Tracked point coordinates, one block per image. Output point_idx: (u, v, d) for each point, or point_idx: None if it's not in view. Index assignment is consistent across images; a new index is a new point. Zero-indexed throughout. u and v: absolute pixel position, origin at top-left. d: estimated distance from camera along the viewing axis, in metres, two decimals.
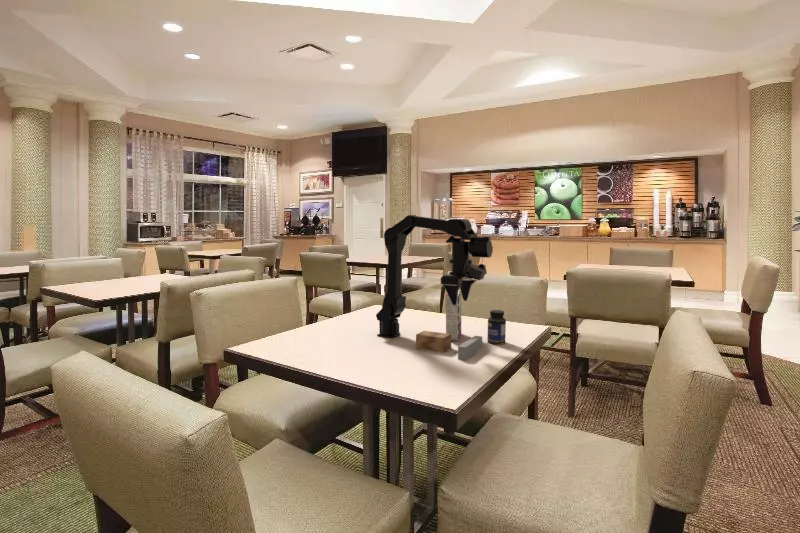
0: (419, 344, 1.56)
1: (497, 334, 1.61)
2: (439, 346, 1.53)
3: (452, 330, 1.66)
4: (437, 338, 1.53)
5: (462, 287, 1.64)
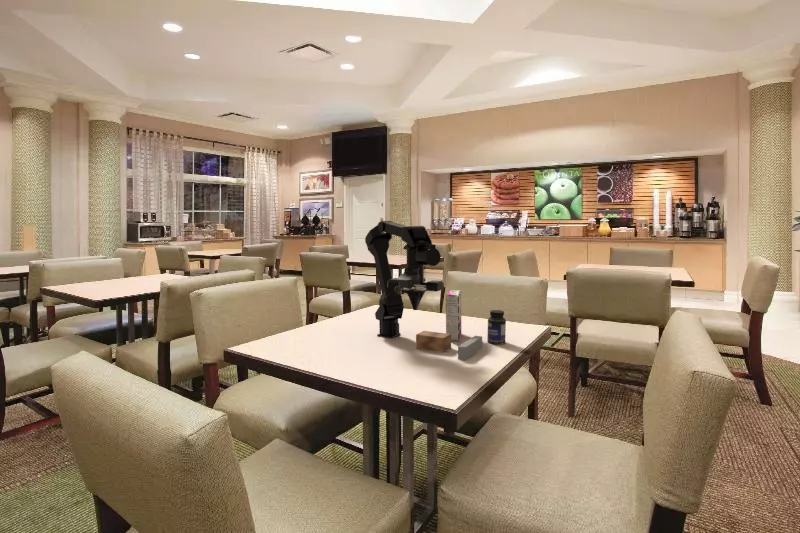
0: (419, 344, 1.56)
1: (497, 334, 1.61)
2: (439, 346, 1.53)
3: (452, 330, 1.66)
4: (437, 338, 1.53)
5: None
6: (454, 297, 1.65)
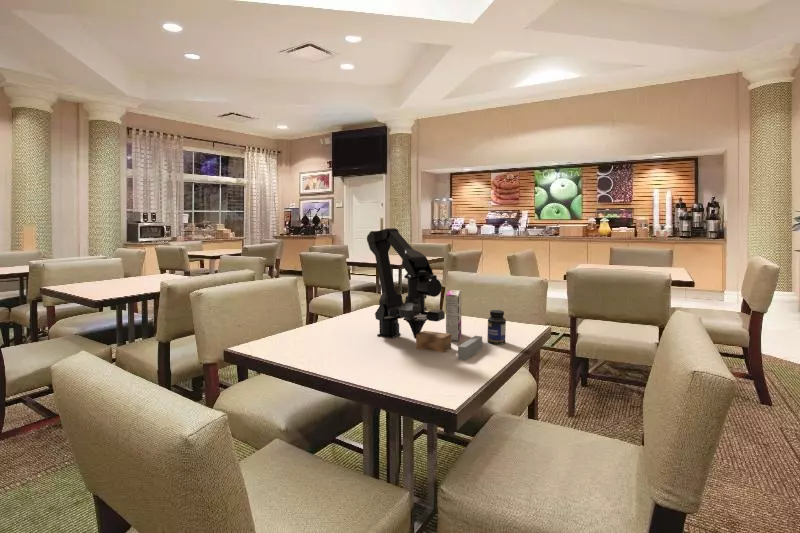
0: (419, 344, 1.56)
1: (497, 333, 1.61)
2: (439, 346, 1.53)
3: (452, 330, 1.66)
4: (437, 338, 1.53)
5: None
6: (454, 297, 1.65)
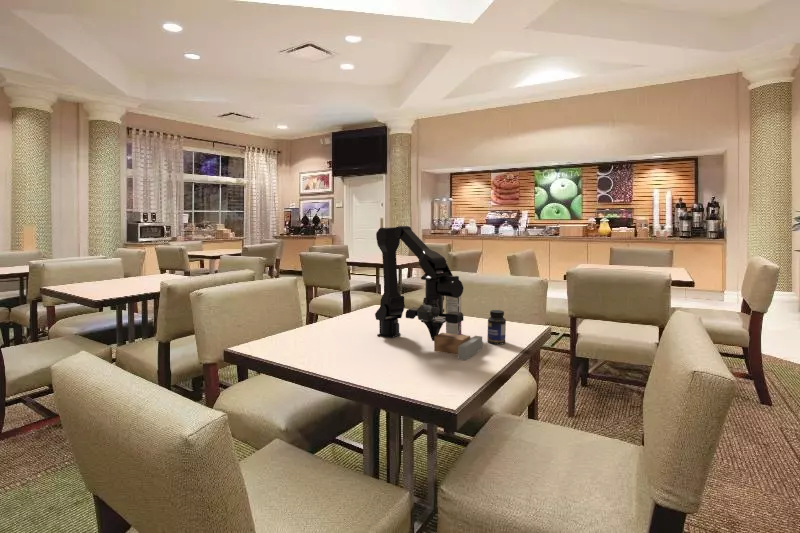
0: (437, 346, 1.53)
1: (497, 334, 1.61)
2: None
3: (452, 330, 1.66)
4: (456, 340, 1.50)
5: None
6: None
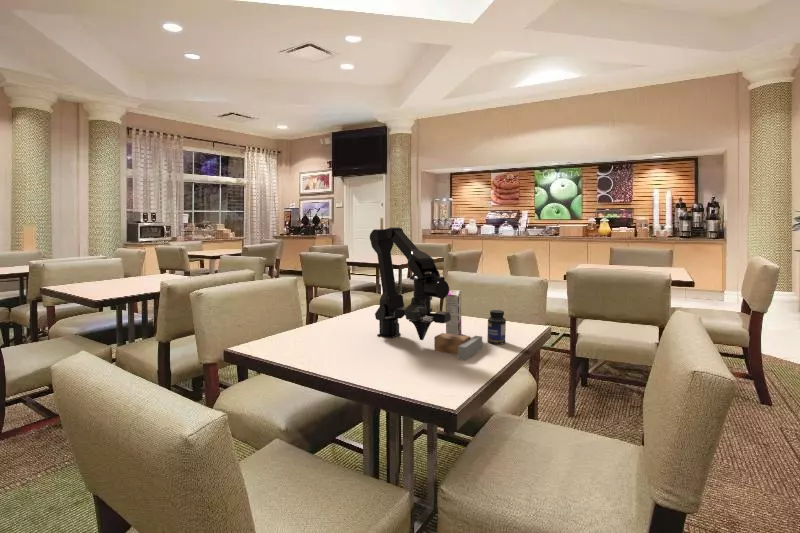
0: (438, 347, 1.53)
1: (497, 334, 1.61)
2: None
3: (452, 330, 1.66)
4: (456, 341, 1.50)
5: None
6: (454, 297, 1.65)
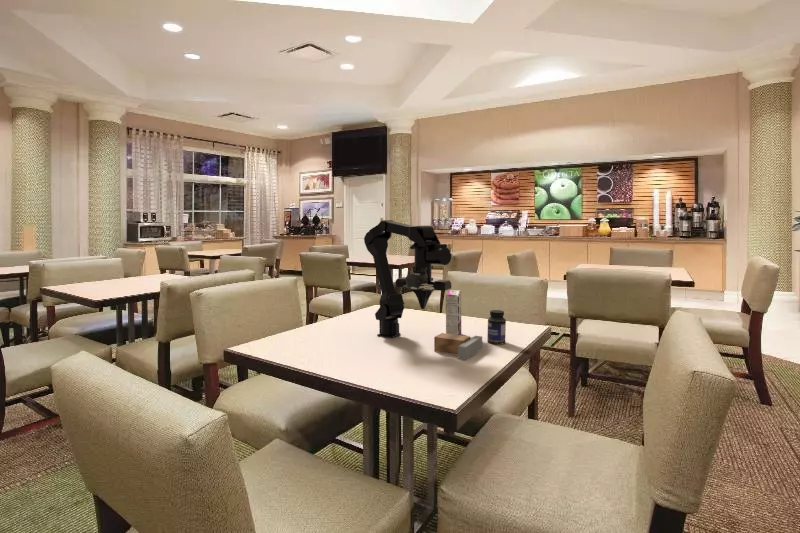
0: (437, 347, 1.53)
1: (497, 333, 1.61)
2: None
3: (452, 330, 1.66)
4: (456, 341, 1.50)
5: None
6: (454, 297, 1.65)
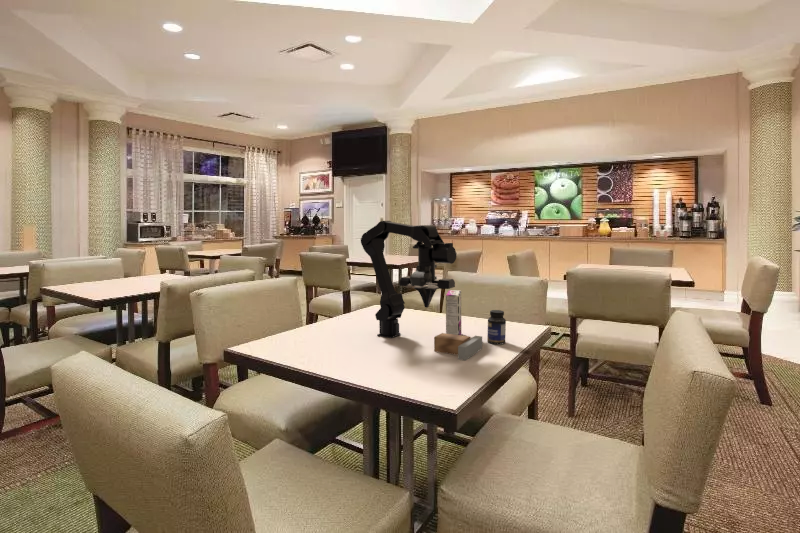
0: (437, 347, 1.53)
1: (497, 333, 1.61)
2: None
3: (452, 330, 1.66)
4: (456, 341, 1.50)
5: None
6: (454, 297, 1.65)
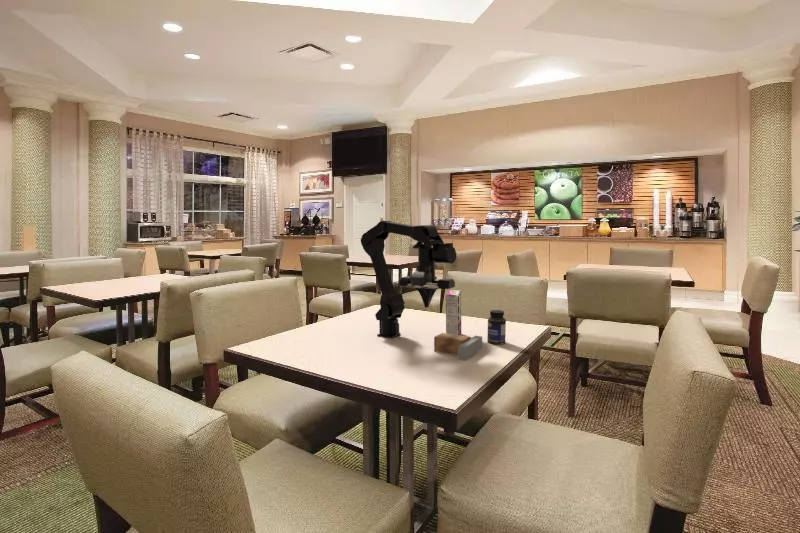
0: (437, 347, 1.53)
1: (497, 333, 1.61)
2: None
3: (452, 330, 1.66)
4: (456, 341, 1.50)
5: None
6: (454, 297, 1.65)
